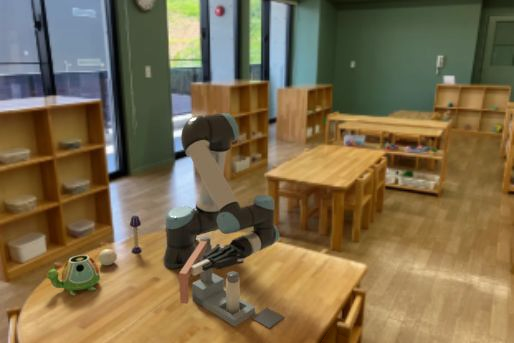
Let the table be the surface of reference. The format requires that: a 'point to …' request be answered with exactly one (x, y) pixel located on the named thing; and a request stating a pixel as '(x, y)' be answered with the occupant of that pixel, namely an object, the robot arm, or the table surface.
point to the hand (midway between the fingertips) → (192, 271)
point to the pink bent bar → (186, 269)
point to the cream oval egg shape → (107, 257)
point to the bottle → (232, 292)
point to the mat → (267, 317)
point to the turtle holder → (76, 274)
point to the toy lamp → (135, 233)
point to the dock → (218, 297)
